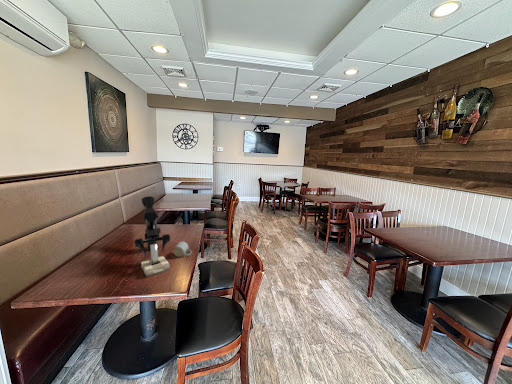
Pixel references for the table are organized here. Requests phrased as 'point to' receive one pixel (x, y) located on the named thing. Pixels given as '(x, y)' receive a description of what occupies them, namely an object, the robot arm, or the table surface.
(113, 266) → the table surface
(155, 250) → the steel pin
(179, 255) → the ceramic mug
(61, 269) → the table surface
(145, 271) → the socket block
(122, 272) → the table surface
